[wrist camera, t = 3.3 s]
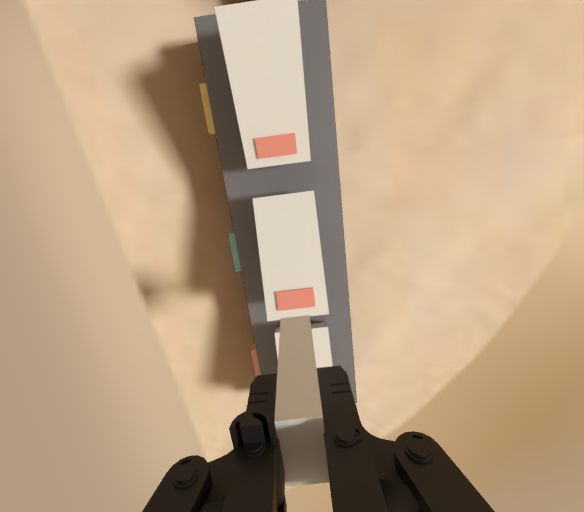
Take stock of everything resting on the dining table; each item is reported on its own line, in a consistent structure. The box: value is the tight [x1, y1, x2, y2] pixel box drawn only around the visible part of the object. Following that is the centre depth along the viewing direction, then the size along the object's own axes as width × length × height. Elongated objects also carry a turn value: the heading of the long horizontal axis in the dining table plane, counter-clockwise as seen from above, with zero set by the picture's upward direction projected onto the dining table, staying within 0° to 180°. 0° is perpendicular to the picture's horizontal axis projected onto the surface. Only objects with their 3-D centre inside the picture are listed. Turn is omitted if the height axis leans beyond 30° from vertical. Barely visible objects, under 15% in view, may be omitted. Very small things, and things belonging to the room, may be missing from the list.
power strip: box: [194, 0, 357, 403], centre depth 23 cm, size 36×8×5 cm, turn 7°
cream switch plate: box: [252, 191, 329, 321], centre depth 21 cm, size 8×4×2 cm, turn 7°
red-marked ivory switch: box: [214, 0, 311, 169], centre depth 18 cm, size 8×4×2 cm, turn 8°
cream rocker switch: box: [275, 322, 333, 368], centre depth 23 cm, size 8×4×2 cm, turn 7°
